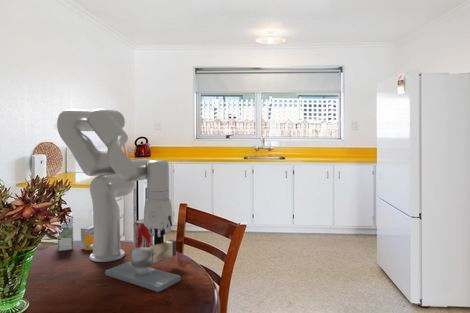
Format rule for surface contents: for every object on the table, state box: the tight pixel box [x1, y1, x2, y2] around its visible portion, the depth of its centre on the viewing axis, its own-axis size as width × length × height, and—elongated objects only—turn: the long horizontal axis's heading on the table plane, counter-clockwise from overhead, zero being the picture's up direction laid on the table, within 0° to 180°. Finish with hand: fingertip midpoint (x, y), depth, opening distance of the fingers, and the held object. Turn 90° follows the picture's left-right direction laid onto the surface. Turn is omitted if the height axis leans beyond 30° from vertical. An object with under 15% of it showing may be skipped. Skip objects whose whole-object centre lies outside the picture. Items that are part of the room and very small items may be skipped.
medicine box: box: [80, 223, 94, 250], centre depth 146 cm, size 8×4×9 cm, turn 161°
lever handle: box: [131, 239, 177, 268], centre depth 119 cm, size 17×6×5 cm, turn 144°
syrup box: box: [57, 212, 74, 252], centre depth 143 cm, size 6×6×14 cm
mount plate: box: [104, 261, 182, 293], centre depth 115 cm, size 24×10×4 cm, turn 58°
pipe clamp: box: [84, 234, 94, 251], centre depth 143 cm, size 12×4×6 cm, turn 85°
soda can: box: [134, 218, 154, 249], centre depth 142 cm, size 7×7×12 cm
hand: (159, 246), depth 124 cm, fingers closed
